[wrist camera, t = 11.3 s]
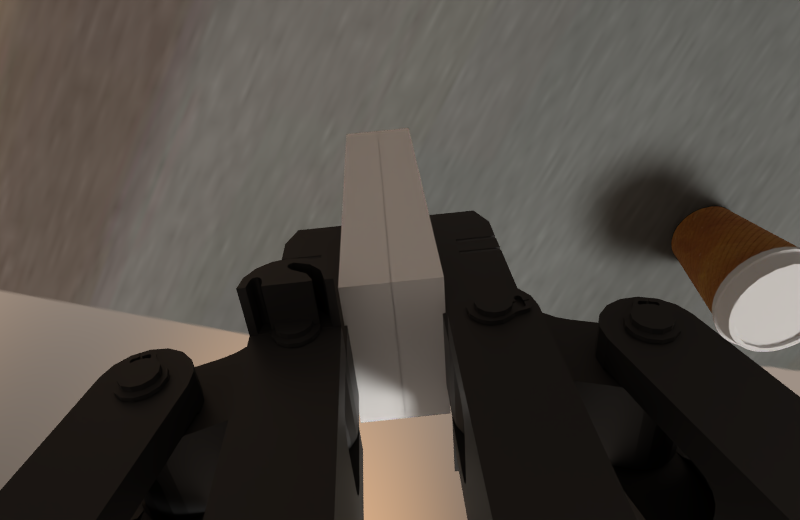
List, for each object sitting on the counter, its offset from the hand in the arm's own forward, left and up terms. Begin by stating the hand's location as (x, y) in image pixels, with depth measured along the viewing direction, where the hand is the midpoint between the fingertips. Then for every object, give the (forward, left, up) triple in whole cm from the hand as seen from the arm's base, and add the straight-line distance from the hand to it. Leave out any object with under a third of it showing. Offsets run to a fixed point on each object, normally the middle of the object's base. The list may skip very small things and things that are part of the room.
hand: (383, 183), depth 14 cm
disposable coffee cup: (-30, +23, -33) cm, 50 cm away
